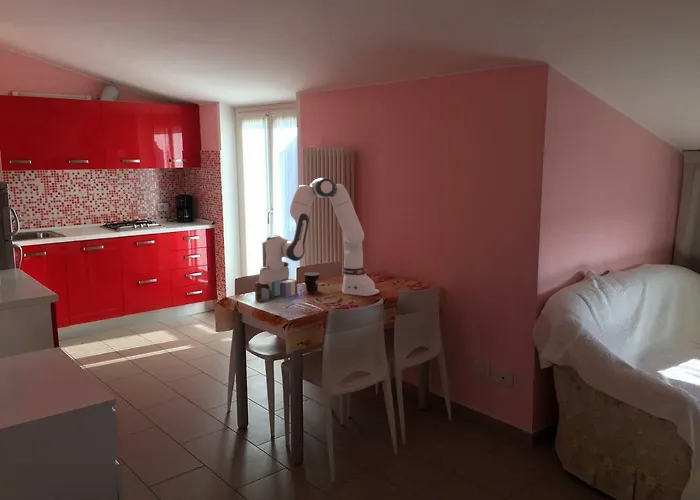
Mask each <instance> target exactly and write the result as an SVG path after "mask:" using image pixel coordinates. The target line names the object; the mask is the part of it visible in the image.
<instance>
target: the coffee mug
mask: <svg viewBox="0 0 700 500" xmlns="http://www.w3.org/2000/svg"><path fill="white" fill-rule="evenodd" d="M319 276H320V273H319V272H305V273H304V284H305V289H306V292H309V293H314V292H315V293H316V292H318V288H319V278H320V277H319Z"/></svg>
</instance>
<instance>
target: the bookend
mask: <svg viewBox="0 0 700 500" xmlns="http://www.w3.org/2000/svg"><path fill="white" fill-rule="evenodd" d="M261 289H262V299H261V300H255V301H256V303H259V304H266V303H268V302H270V297H269V289H266V288H261Z"/></svg>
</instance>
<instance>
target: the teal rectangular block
mask: <svg viewBox="0 0 700 500" xmlns="http://www.w3.org/2000/svg"><path fill="white" fill-rule="evenodd" d="M271 286H272V287H273V290H269V295H273V296H272V297H277V296H280V281H275V282H272V284H271Z"/></svg>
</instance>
